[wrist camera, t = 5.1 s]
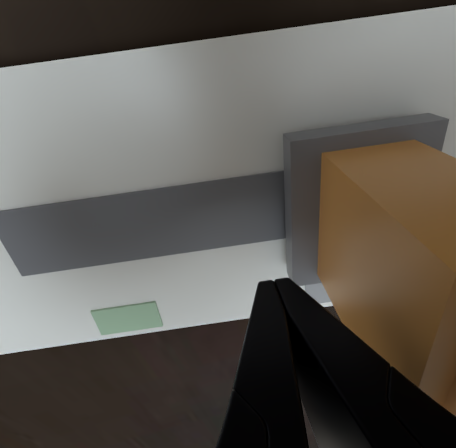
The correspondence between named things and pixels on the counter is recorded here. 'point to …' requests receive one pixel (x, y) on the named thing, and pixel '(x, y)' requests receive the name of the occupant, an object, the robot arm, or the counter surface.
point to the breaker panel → (184, 167)
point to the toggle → (380, 238)
